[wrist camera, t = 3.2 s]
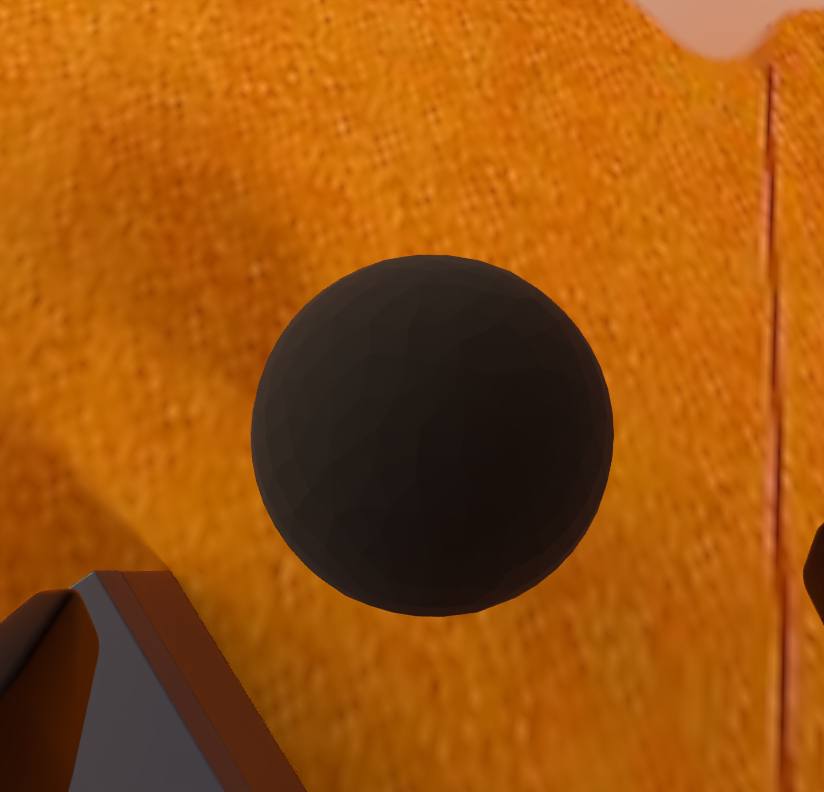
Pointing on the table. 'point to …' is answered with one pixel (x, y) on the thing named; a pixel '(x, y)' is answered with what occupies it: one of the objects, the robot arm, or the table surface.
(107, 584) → the dark grey slab
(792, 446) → the table surface
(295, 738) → the table surface
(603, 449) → the light bulb
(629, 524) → the table surface
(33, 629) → the robot arm
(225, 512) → the table surface
